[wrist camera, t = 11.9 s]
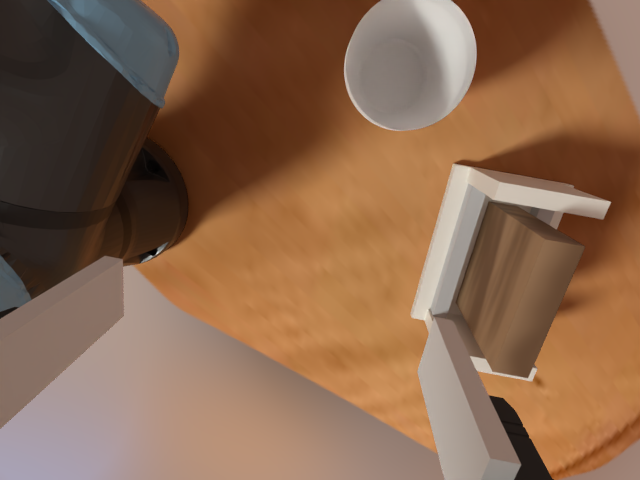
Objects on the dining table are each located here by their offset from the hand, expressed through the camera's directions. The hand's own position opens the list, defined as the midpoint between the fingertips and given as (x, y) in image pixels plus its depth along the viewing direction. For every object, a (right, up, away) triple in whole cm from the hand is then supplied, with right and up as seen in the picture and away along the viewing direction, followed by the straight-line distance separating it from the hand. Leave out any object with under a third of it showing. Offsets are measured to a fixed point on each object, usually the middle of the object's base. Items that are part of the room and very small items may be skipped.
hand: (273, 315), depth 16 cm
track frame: (+20, +2, +26) cm, 33 cm away
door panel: (+20, +1, +25) cm, 32 cm away
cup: (+9, +19, +21) cm, 30 cm away
